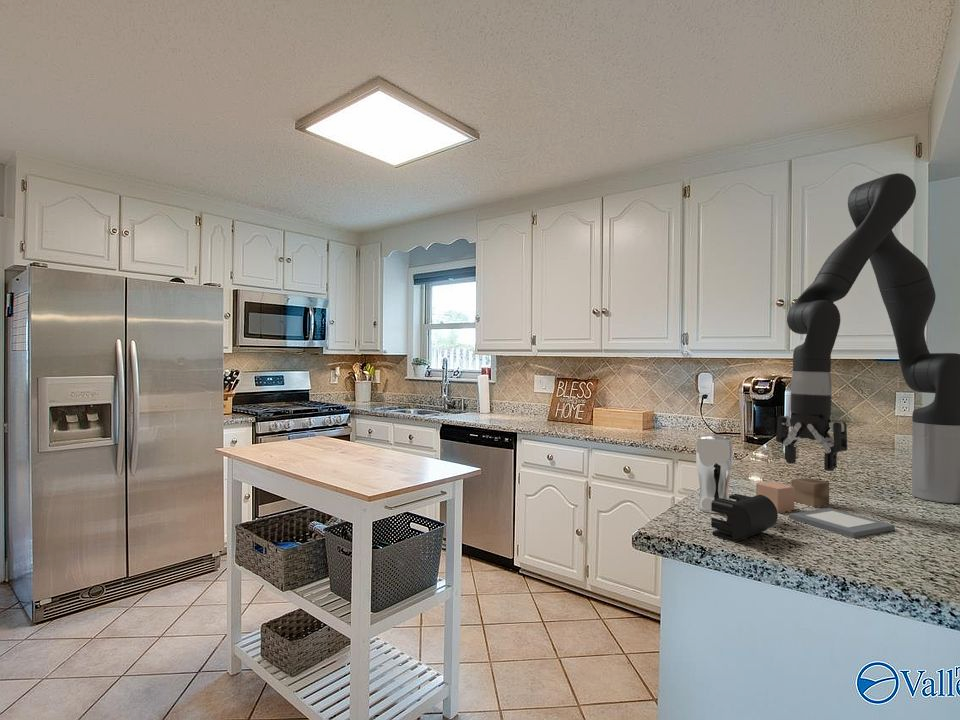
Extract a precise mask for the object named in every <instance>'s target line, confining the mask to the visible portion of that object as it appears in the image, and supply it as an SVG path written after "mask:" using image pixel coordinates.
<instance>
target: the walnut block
mask: <svg viewBox="0 0 960 720" xmlns="http://www.w3.org/2000/svg"><path fill="white" fill-rule="evenodd" d="M790 486H793V487H795V496H794V502H796V503H795V504H798V503H800V504H799V505H802V504H805V505H808V506H807V507H809V506H812V507H811V508H813V507H815V508H818V507H817V506H822V507H825V506H824V505H828V506H830V482H828V481H824V480H818V479H813V478H810V477H809V478H808V477H802V478H795V479H791V485H790ZM805 505H804V506H805Z"/></svg>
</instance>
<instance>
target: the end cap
mask: <svg viewBox="0 0 960 720" xmlns="http://www.w3.org/2000/svg"><path fill="white" fill-rule="evenodd" d="M711 511H714V512H718V513H722V514H723V515H725V516H726V520H723V519H720V518H719V519H718V518H714V517H711V520H710V521H711V522H710V525H711V528H713V529H715V530H713V531H711V532H712V533H711V534H712V536H714V537H718V538H721V539H724V540H727V541H730V540H731V542H734V541H736V542H737V543H738V542H740V541H742V540H745V539H748V538H750V537H753V536H755V535H758V534H760V533H763V532H765V531H768V529H770V528H772V527H773V526H775V524H776V523H777V521H778V518H779V517H778V516H779V513H778V512H777V509H776V507H775V505H774V503H773V502H772V501H771V500H770V499H769V498H767V497H765V496H763V495H757V496H756V495H754V496H749V495H743V494H738V493H733V494H730V495H728V500H727V499H723V498H719V499H715V500H713V501H712V503H711Z"/></svg>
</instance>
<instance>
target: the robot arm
mask: <svg viewBox="0 0 960 720" xmlns="http://www.w3.org/2000/svg"><path fill="white" fill-rule="evenodd" d="M916 195H917V189H916V184H915V182H914V180H913V179H912V178H911V177H910V176H909V175H907V174H905V173H899V172H898V173H897V172H896V173H891V174H887V175H884V176H880V177H878V178H875V179H872V180H870V181H869V180H868V181H866V182H863V183H861V184H859V185H856V186H855V187H853V188H852V190H851V191H850V193H849V195H848V197H847V210H848V212H849V215H850V218H851V221H852V223H853V225H854V227H855V230H854V231H852V232H851V234H850V235H849V236H847V238H845V240H843V241H842V242H841V243H840V244H839V245H838V246H837V247H836V248H835V249H834V250H833V251H832V252H831V253H830V254H829V256H828V257H827V258H826V260H825V261H824V263H823V264H822V266H821V268H820V269H819V271H818V273H817V274H816V276H815V278H814V280H813V282H812V283H810V284H809V286H808V287H807V288H806V289H805V290H804V291H803V292H802V293H801V294H800V295H799V296H798V298H797V299H796V300H795V301H794V302H793V303H792V305H791V307H790V308H789V310H788V313H787V316H786V323H787V327H788V328H789V330H790V331H791V332H793V333H795V334H797V335H805V339H804V341H803V343H801V344H799V345H796V347H795V348H794V349H793V351H792V352H793V353H792V376H791V381H790V412H791V417H790V416H788V415H782V416H781V415H780V416H778V417H777V421H776V422H777V423H776V435H775V441H776V442H777V443H781V444H783V445H784V459H785V461H786V464H790V465H791V464H795V463H796V462H797V461H796V459H797V458H796V457H797V456H796V455H797V446H795V445H796V444H797V443H798V442H799V440H802V439H809V440H811V441H817V443H818V444H819V445H821V447H822V448H823V450H824V451H825V452H824V464H823V467H824V468H823V469H824V471H828V472H833V471H834V470H835V469H837V466H838V465H837V461H838V457H837V456H838V453H840V452H846V451H847V450H848V432H847V431H848V430H847V429H848V428H847V427H848V426H847V423H846V422H844V421H840V422H839V421H838V422H832V421H831V419H830V418H831V415H832V399H833V398H832V397H833V391H832V390H833V387H832V386H833V382H832V374H831V371H832V351H833V349H834V345H835V343H836V340H837V337H838V333H839V330H840V326H841V313H840V311H839V308H838V306H837V305H836V304H835V302H837V301H839V300H842V299H843V298H845V297H846V296H847V295H848V293H849V292H850V291H851V289H852V287H853V285H854V284H855V282H856V280H857V279H858V276H859V275H860V274H861V271H862V270H863V268H864V266H865V265H866V264H867V263H868V261H869V262H870V264H871V268H872V270H873V273H874V276H875V279H876V283H877V286H878V290H879V292H880V296H881V299H882V302H883V305H884V306H885V309H886V312H887V314H888V318H889V321H890V325H891V329H892V332H893V335H894V339H895V344H896V350H897V353H898V360H899V365H900V370H901V373H902V377H903V379H904V381H905V383H906V386H907V387H908V388H909V389H911V390H912V391H914V392H917V393H924V394H926V393H928V394H934V399H933V400H932V402H931V403H930V404H928V405H926V406H923V407H920V408H919V407H918V408H916V409H914V410H913V411H912V415H911V416H912V417H911V420H912V422H911V431H912V433H911V434H912V436H911V438H912V439H911V442H912V445H911V454H912V455H911V495H912V496H913V497H915V498H917V499H922V500H925V501H932V502H938V503H945V504H947V503H948V504H960V353H954V352H942V353H941V352H938V353H937V352H936V353H935V352H933V353H931V352H930V351H929V348H928V345H927V341H926V335H925V330H926V329H925V328H926V326H927V322H928V320H929V318H930V315H931V313H932V312H933V308H934V305H935V302H936V298H937V297H936V296H937V295H936V290H935V288H934V284H933V282H932V278H931V275H930V272H929V270H928V267H927V266H926V264H925V263H924V262H923V261H922V260H921V259H920V258H919V257H918V256H917V255H915V254H914V253H913V252H912V251H910V250H909V249H908V248H907V247H906V246H905V245H903V244H902V243H901V242H900V240H899V239H898V238H897V236H896V235H895V233H894V232H893V229H894V228H895V226H896V225H897V224H898V223H899V222H900V221H901V220H902V219H903V217H904V216H905V215H906V214H907V213H908V211H909V210H910V208H911V207H912V206H913V204H914V202H915V199H916ZM790 426H791V427H792V429H791V430H790ZM789 431H790V432H789ZM829 431H831V432H832V434H833V436H832V435H831V434H830V432H829Z"/></svg>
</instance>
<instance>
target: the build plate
mask: <svg viewBox="0 0 960 720" xmlns="http://www.w3.org/2000/svg"><path fill="white" fill-rule="evenodd" d="M789 518H791V519H790V520H792V519H794V520H793V521H795V520H797V522H799V521H800V523H802V522H804V523H803V524H805V523H808V524H807V525H809V524H811V525H810V526H812V525H814V526H813V527H815V526H817V527H816V528H819V527H820V528H819V529H822V528H823V529H822V530H825V529H826V531H829V530H830V531H829V532H832V531H833V533H835V532H836V533H837V534H839V535H842V536H845V537H849V538H853V539H854V538H860V537H864V536H868V535H869V536H871V535H875V534H880V533H886V532H891V531H896V530H895V529H896V526H895V524H892V523H888V522H885V521H881V520H879V519H878V520H877V519H873V518H870V517H866V516H861V515H859V514H854V513H851V512H846V511H843V510H840V509H839V510H838V509H835V508H831V507H826V508H825V507H824V508H819V509H818V508H817V509H812V510H807V511H806V510H804V511H799V512H792V513H789V514H788V519H789Z"/></svg>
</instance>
